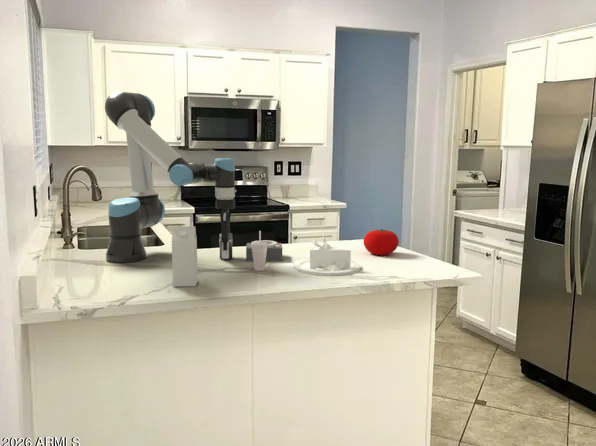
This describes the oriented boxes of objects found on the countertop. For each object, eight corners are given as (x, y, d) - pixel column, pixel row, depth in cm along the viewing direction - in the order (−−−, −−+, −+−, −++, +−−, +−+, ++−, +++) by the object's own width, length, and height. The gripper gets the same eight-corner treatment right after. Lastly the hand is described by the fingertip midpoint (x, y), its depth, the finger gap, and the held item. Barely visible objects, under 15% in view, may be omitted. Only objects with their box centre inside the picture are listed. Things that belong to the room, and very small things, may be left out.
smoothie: (270, 268, 204) (270, 230, 202) (264, 272, 198) (264, 233, 196) (254, 266, 206) (254, 229, 204) (247, 270, 200) (247, 232, 198)
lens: (218, 260, 217) (218, 234, 215) (219, 257, 222) (219, 232, 220) (232, 260, 217) (232, 234, 215) (233, 257, 222) (232, 232, 221)
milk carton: (175, 281, 184) (174, 224, 182) (197, 281, 185) (196, 224, 182) (172, 287, 177) (171, 228, 175) (195, 286, 178) (194, 228, 175)
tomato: (359, 255, 227) (360, 230, 226) (367, 249, 239) (368, 225, 238) (394, 258, 222) (395, 232, 221) (400, 252, 234) (401, 228, 232)
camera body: (246, 261, 215) (246, 245, 215) (246, 255, 226) (246, 240, 225) (282, 260, 216) (282, 245, 216) (281, 255, 227) (281, 240, 226)
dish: (282, 272, 199) (282, 241, 197) (307, 258, 222) (307, 231, 220) (348, 279, 190) (349, 246, 188) (367, 264, 213) (368, 235, 211)
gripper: (233, 201, 206) (234, 261, 209) (236, 195, 226) (236, 250, 230) (213, 201, 205) (214, 261, 209) (217, 195, 226) (218, 251, 229)
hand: (226, 256), depth 219 cm, fingers open, 8 cm apart
